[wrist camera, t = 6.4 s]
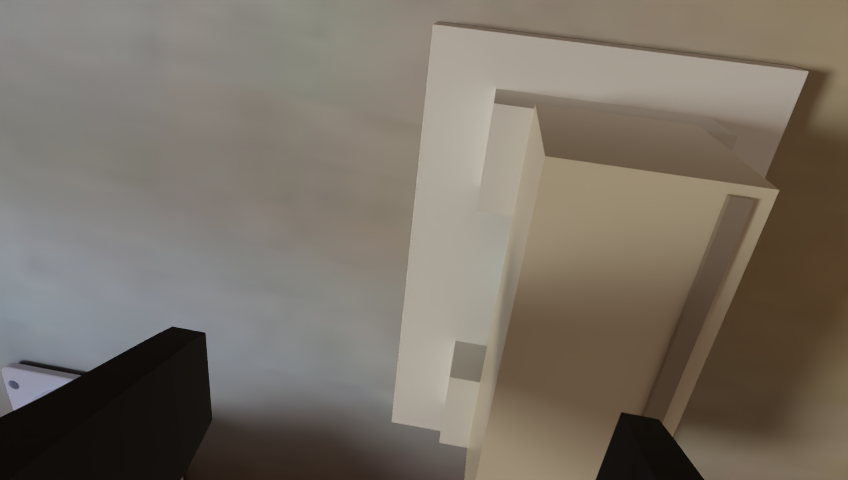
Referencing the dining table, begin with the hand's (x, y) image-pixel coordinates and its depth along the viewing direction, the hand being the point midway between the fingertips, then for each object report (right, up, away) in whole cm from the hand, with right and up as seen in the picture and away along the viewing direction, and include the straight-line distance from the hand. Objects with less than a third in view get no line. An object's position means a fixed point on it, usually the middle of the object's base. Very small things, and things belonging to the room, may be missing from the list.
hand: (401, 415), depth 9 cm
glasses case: (+4, +1, +7) cm, 8 cm away
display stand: (+5, +2, +9) cm, 11 cm away
